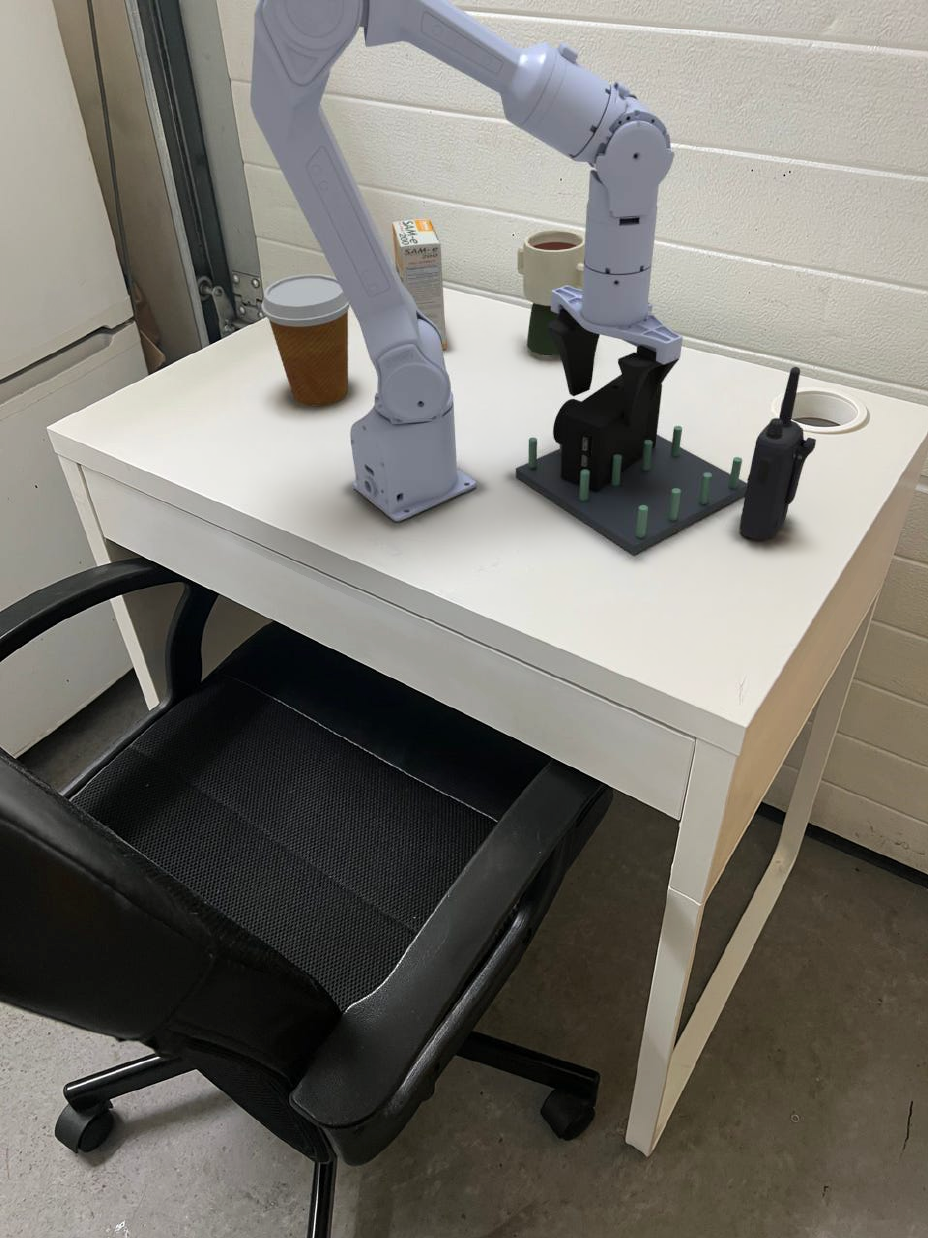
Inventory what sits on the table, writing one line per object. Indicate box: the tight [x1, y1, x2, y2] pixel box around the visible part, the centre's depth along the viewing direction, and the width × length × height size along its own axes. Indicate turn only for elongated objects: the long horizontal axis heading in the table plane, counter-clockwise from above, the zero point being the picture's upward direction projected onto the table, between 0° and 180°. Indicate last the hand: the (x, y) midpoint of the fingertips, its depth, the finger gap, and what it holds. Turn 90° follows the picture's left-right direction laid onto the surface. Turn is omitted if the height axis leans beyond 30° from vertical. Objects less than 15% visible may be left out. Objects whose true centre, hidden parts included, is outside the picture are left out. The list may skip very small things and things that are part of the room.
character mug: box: [517, 228, 585, 356], centre depth 108 cm, size 11×7×13 cm, turn 46°
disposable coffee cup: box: [260, 273, 350, 407], centre depth 102 cm, size 10×10×12 cm
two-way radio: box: [739, 366, 817, 540], centre depth 79 cm, size 6×4×15 cm
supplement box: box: [391, 218, 447, 350], centre depth 112 cm, size 8×5×13 cm, turn 10°
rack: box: [515, 425, 748, 556], centre depth 89 cm, size 15×16×4 cm
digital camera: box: [552, 373, 663, 492], centre depth 89 cm, size 10×5×7 cm, turn 139°
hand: (606, 406), depth 88 cm, fingers open, 7 cm apart
